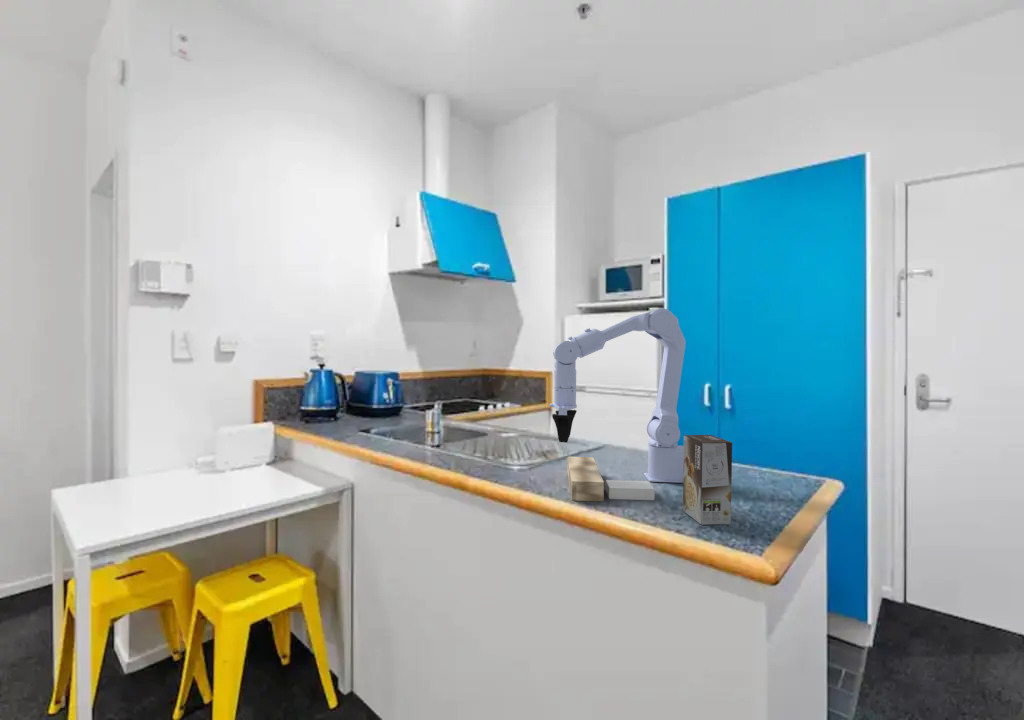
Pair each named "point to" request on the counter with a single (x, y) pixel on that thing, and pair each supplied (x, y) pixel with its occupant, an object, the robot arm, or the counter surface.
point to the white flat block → (629, 490)
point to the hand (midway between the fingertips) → (564, 439)
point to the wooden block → (584, 479)
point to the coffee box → (707, 479)
